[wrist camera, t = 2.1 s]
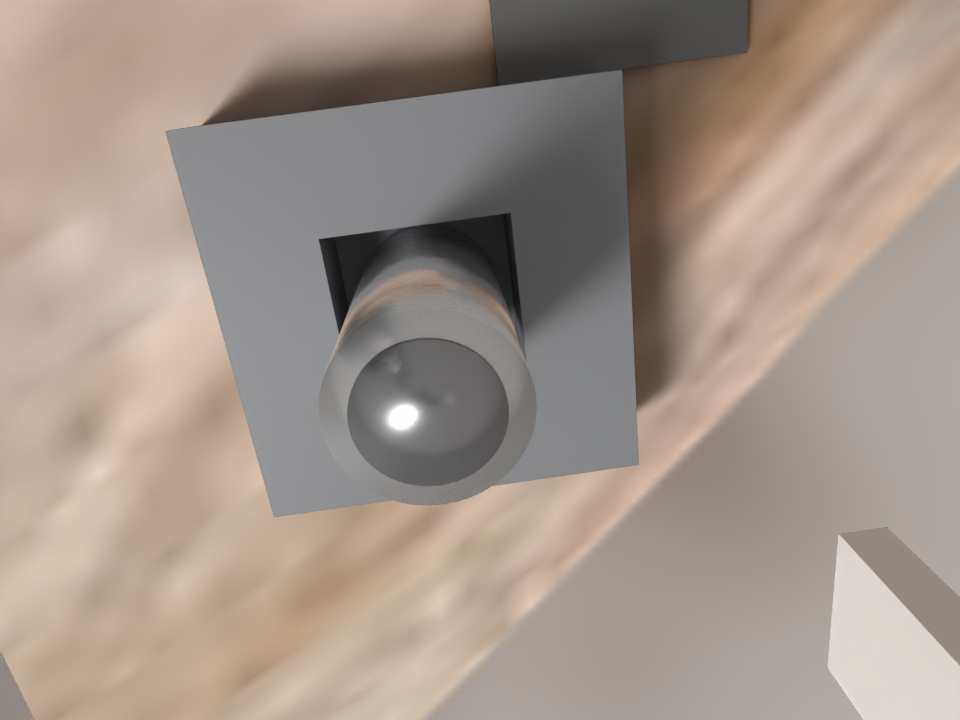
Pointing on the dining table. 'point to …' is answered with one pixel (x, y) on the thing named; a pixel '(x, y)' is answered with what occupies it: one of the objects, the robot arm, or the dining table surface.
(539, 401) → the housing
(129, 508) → the dining table surface
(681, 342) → the dining table surface
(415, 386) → the end cap
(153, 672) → the dining table surface
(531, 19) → the mat
